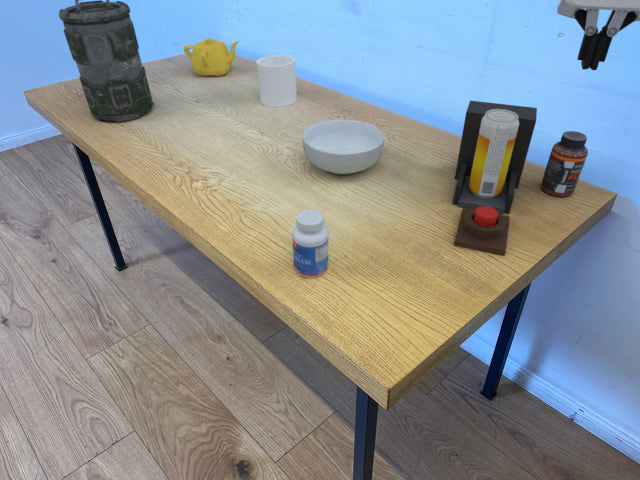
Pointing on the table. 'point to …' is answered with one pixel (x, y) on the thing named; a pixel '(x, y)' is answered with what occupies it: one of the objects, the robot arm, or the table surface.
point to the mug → (277, 80)
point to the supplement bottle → (565, 164)
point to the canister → (107, 59)
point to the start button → (485, 216)
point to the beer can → (493, 152)
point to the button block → (482, 233)
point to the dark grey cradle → (468, 148)
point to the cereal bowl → (343, 145)
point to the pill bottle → (310, 244)
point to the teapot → (211, 57)
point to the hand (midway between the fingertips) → (588, 66)
